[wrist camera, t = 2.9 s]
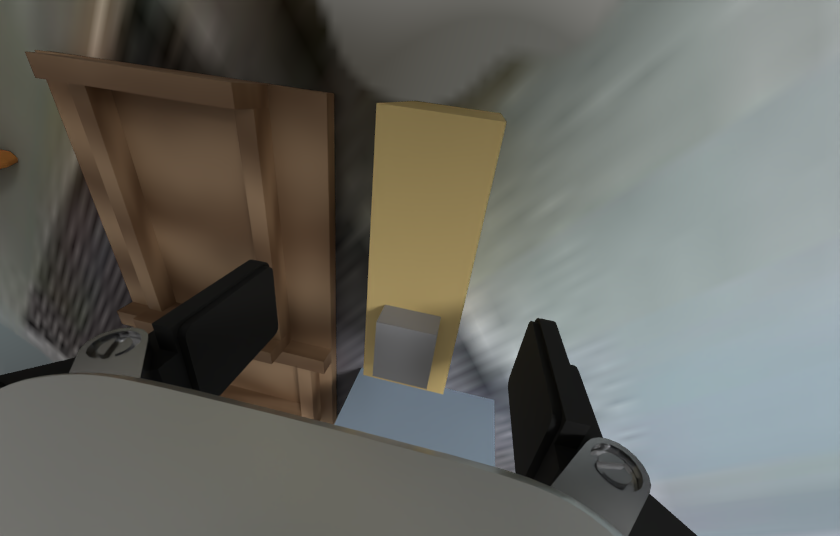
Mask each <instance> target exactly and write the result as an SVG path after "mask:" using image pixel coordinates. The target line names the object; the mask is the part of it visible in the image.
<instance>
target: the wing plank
mask: <svg viewBox="0 0 840 536" xmlns="http://www.w3.org/2000/svg"><path fill="white" fill-rule="evenodd" d="M363 371H364V368H361V370H360V372H359V374H358V376H357V378H356V380H355V382H354V384H353V386H352V388H351V390H350V392H349V395H348V397H347V399H346V401H345V403H344V405H343V407H342V409H341V411H340V413H339V415H338V417H337V420H336V422H335V424H334V425H338V426H342V427H346V428H350V429H354V430H358V431H361V432H365V433H369V434H373V435H377V436H381V437H385V438H389V439H393V440H396V441H400V442H404V443H408V444H412V445H416V446H420V447H424V448H427V449H431V450H435V451H439V452H443V453H447V454H450V455H454V456H458V457H461V458H465V459H468V460H472V461H476V462H479V463H483V464H487V465H490V466H494V467H495V426H494V400H491V399H487V398H483V397H479V396H475V395H471V394H467V393H463V392H459V391H455V390H451V389H447V388H444V393H443V394H439V393H435V392H431V391H427V390H423V389H418V388H414V387H410V386H406V385H402V384H398V383H394V382H390V381H386V380H382V379H378V378H374V377H370V376H365V375H363Z"/></svg>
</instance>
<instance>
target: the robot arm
mask: <svg viewBox="0 0 840 536" xmlns="http://www.w3.org/2000/svg"><path fill="white" fill-rule="evenodd" d="M152 326H153V329H154V330H153V331H152V332H150V333H149V334H148V333H147V332H146V331H145V330H143V329H140V328H131V327H129V328H120V329H115V330H111V331H108V332H105V333H103V334H100V335H98V336H96V337H94V338H92V339H90V340H89V341H88V342H86V343H85V344H84V345H83V346H82V347H81V349H80V350H79V351H78V354H77V356H76V358H72V359H68V360H64V361H59V362H55V363H51V364H47V365H42V366H38V367H34V368H30V369H25V370H22V371H17V372H13V373H8V374H4V375H0V536H697V535H696V534H695V533H693V532H692V531H691V530H690V529H689V528H688V527H687V526H685V525H684V524H683V523H682V522H681V521H680V520H679V519H678V518H676V517H675V516H674V515H673V514H672V513H671V512H670V511H668V510H667V509H666V508H665V507H664V506H663V505H662V504H661V503H659V502H658V501H657V500H656V499H655V498H654V497H653V496H651V495H650V494H649V493H650V488H651V483H650V479H649V475H648V473H647V472H646V470H645V468H644V466H643V465H642V464H641V462H640V461H639V460H638V459H637V457H636V456H635V455H633V454H632V453H631V452H630V451H629V450H628V449H626V448H625V447H623V446H622V445H620V444H619V443H617V442H614V441H612V440H609V439H606V438H603V437H602V434H601V432H600V429H599V426H598V423H597V420H596V418H595V415H594V412H593V409H592V407H591V404H590V401H589V398H588V396H587V393H586V390H585V387H584V385H583V382H582V379H581V376H580V373H579V371H578V369H577V367H576V366H574V365H570V363H569V360H568V357H567V354H566V351H565V348H564V345H563V342H562V339H561V336H560V334H559V331H558V328H557V325H556V322H554V321H550V320H545V319H540V318H537V319H536V320H535V322H533V321H530V322H529V324H528V327H527V330H526V333H525V336H524V338H523V341H522V344H521V347H520V349H519V352H518V355H517V358H516V361H515V363H514V366H513V369H512V372H511V375H510V377H509V382H508V393H509V404H510V415H511V426H512V438H513V449H514V460H515V471H516V473H513V472H510V471H507V470H504V469H501V468H497V467H494V466H490V465H487V464H483V463H479V462H476V461H472V460H468V459H465V458H461V457H458V456H454V455H450V454H447V453H443V452H439V451H435V450H431V449H427V448H424V447H420V446H416V445H412V444H408V443H404V442H400V441H396V440H393V439H389V438H385V437H381V436H377V435H373V434H369V433H365V432H361V431H358V430H354V429H350V428H346V427H342V426H338V425H334V424H330V423H326V422H322V421H318V420H314V419H310V418H306V417H302V416H298V415H294V414H290V413H286V412H282V411H278V410H274V409H270V408H266V407H262V406H258V405H254V404H250V403H246V402H242V401H238V400H234V399H229V398H225V397H221V396H220V395H221V394H222V393H223V392H224V391H225V389H226V388H227V387H228V386H229V385H230V384H231V383H232V382H233V381H234V380H235V379H236V377H237V376H238V375H239V374H240V373H241V372H242V371H243V370H244V369H245V368H246V366H247V365H248V364H249V363H250V362H251V361H252V360H253V359H254V358H255V357H256V356H257V354H258V353H259V352H260V351H261V350H262V349H263V348H264V347H265V346H266V345H267V343H268V342H269V341H270V340H271V339H272V338H273V337H274V336H275V334H276V333H277V330H278V316H277V306H276V296H275V286H274V276H273V269H272V268H271V267H269V264H268V263H266V262H262V261H257V260H248V261H247V262H245V263H244V264H242V265H241V266H239V267H237V268H236V269H234V270H233V271H231V272H230V273H228V274H227V275H225V276H224V277H222V278H221V279H219V280H218V281H216V282H214V283H213V284H211V285H210V286H208V287H207V288H205V289H204V290H202V291H201V292H199V293H198V294H196V295H195V296H193V297H191V298H190V299H188V300H187V301H185V302H184V303H182V304H181V305H179V306H178V307H176V308H175V309H173V310H172V311H170V312H168V313H167V314H165V315H164V316H162V317H161V318H159V319H158V320H156V321H155V322H153V323H152Z"/></svg>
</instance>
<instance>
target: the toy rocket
mask: <svg viewBox="0 0 840 536" xmlns="http://www.w3.org/2000/svg"><path fill="white" fill-rule="evenodd" d="M17 162H18V159H17V157H16V156H15V155H13V154H12V153H11V152H10V151H5V150H0V169H2V168H7V167H9V166H11V165H13V164H15V163H17Z"/></svg>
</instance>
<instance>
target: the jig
mask: <svg viewBox="0 0 840 536" xmlns="http://www.w3.org/2000/svg"><path fill="white" fill-rule="evenodd" d="M35 52H36V53H35ZM35 52H25V53H26V56H27V58H28V61H29V63H30V66H31V68H32V71H33V73H34V76H35V78H40V79H46V80H47V83H48V85H49V88H50V91H51V93H52V96H53V98H54V101H55V103H56V106H57V108H58V111H59V114H60V116H61V119H62V121H63V124H64V126H65V129H66V132H67V134H68V137H69V139H70V142H71V144H72V147H73V150H74V152H75V155H76V157H77V160H78V162H79V165H80V168H81V170H82V173H83V175H84V178H85V180H86V183H87V186H88V188H89V191H90V193H91V196H92V198H93V201H94V203H95V206H96V209H97V211H98V214H99V216H100V219H101V221H102V224H103V227H104V229H105V232H106V234H107V237H108V239H109V242H110V245H111V247H112V250H113V252H114V255H115V257H116V260H117V263H118V265H119V268H120V270H121V273H122V275H123V278H124V280H125V283H126V286H127V288H128V291H129V293H130V296H131V298H132V301H133V302H132V303H130V304H128V305H126V306H125V307H123V308H121V309H119V310H118V311H117V313H118V315H119V317H120V320H121V322H122V324H125V325H129V326H133V327H134V328H140V329H143V330H145V331H146V332H147V333H148V334H149V333H150V332H152V331H153V330H154V329H153V326H152V323H153V322H155V321H156V320H158V319H159V318H161V317H162V316H164V315H165V314H167V313H168V312H170V311H172V310H173V309H175V308H176V307H178V306H179V305H181V304H182V303H184V302H185V301H187V300H188V299H190V298H191V297H193V296H195V295H196V294H198V293H199V292H201V291H202V290H204V289H205V288H207V287H208V286H210V285H211V284H213V283H214V282H216V281H218V280H219V279H221V278H222V277H224V276H225V275H227V274H228V273H230V272H231V271H233V270H234V269H236V268H237V267H239V266H241V265H242V264H244V263H245V262H247V261H248V260H257V261H262V262H266V263H268V264H269V267H271V268H272V269H273V276H274V286H275V296H276V306H277V316H278V330H277V333H276V334H275V336H274V337H273V338H272V339H271V340H270V341H269V342H268V343H267V345H266V346H265V347H264V348H263V349H262V350H261V351H260V352H259V353H258V354H257V356H256V357H255V358H254V359H253V360H252V361H251V362H250V363H249V364H248V365H247V366H246V368H245V369H244V370H243V371H242V372H241V373H240V374H239V375H238V376H237V377H236V379H235V380H234V381H233V382H232V383H231V384H230V385H229V386H228V387H227V388H226V389H225V391H224V392H223V393H222V394H221V395H220V396H221V397H225V398H229V399H234V400H238V401H242V402H246V403H250V404H254V405H258V406H262V407H266V408H270V409H274V410H278V411H282V412H286V413H290V414H294V415H298V416H302V417H306V418H310V419H314V420H318V421H322V422H326V423H330V424H335V422H336V420H337V395H336V270H335V145H334V93H328V92H321V91H314V90H307V89H301V88H294V87H287V86H280V85H274V84H267V83H260V82H253V81H247V80H240V79H233V78H226V77H220V76H213V75H206V74H199V73H193V72H186V71H179V70H172V69H166V68H159V67H152V66H145V65H139V64H132V63H125V62H118V61H112V60H105V59H98V58H91V57H85V56H78V55H71V54H64V53H58V52H50V51H40V50H35Z"/></svg>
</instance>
